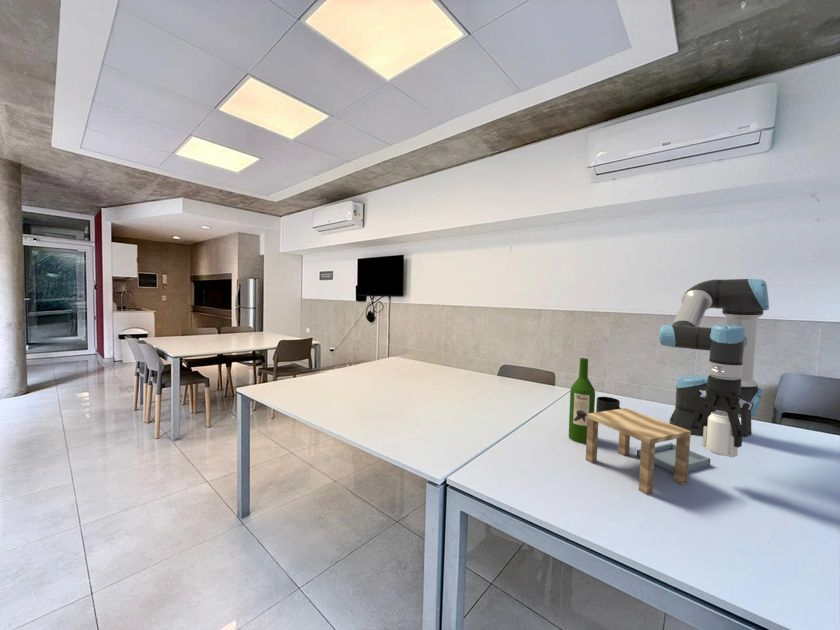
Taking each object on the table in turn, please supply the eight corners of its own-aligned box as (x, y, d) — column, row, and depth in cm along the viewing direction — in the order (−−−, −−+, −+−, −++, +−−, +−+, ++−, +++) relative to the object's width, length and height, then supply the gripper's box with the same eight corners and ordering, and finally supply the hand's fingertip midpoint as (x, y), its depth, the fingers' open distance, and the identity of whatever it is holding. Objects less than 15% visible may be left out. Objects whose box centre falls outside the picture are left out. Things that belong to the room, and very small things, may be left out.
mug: (616, 425, 151) (617, 405, 151) (591, 416, 162) (592, 398, 161) (628, 422, 156) (629, 402, 155) (603, 413, 166) (604, 395, 166)
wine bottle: (568, 441, 135) (572, 359, 133) (568, 432, 143) (571, 355, 141) (594, 445, 131) (597, 361, 129) (591, 436, 140) (595, 357, 138)
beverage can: (727, 459, 100) (730, 419, 99) (701, 450, 105) (704, 412, 104) (736, 454, 103) (739, 415, 102) (711, 446, 108) (714, 409, 107)
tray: (670, 449, 129) (670, 442, 128) (709, 465, 117) (710, 458, 116) (636, 456, 122) (636, 450, 122) (674, 475, 110) (674, 467, 110)
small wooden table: (622, 451, 126) (625, 408, 125) (687, 483, 106) (690, 431, 105) (585, 459, 120) (587, 413, 119) (646, 494, 99) (649, 439, 98)
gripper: (681, 370, 110) (677, 439, 112) (757, 386, 92) (751, 469, 94) (697, 368, 112) (692, 436, 114) (773, 383, 94) (767, 463, 96)
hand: (719, 450), depth 104 cm, fingers closed on beverage can, 6 cm apart
